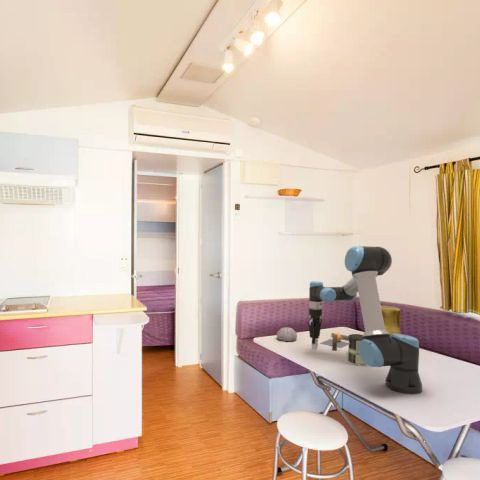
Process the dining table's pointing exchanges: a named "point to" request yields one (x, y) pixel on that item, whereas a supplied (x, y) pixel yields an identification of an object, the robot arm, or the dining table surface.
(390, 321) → the pitcher
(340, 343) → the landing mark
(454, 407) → the dining table surface
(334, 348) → the right post
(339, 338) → the ball
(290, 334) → the sea urchin shell
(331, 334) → the wall
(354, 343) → the coffee can
